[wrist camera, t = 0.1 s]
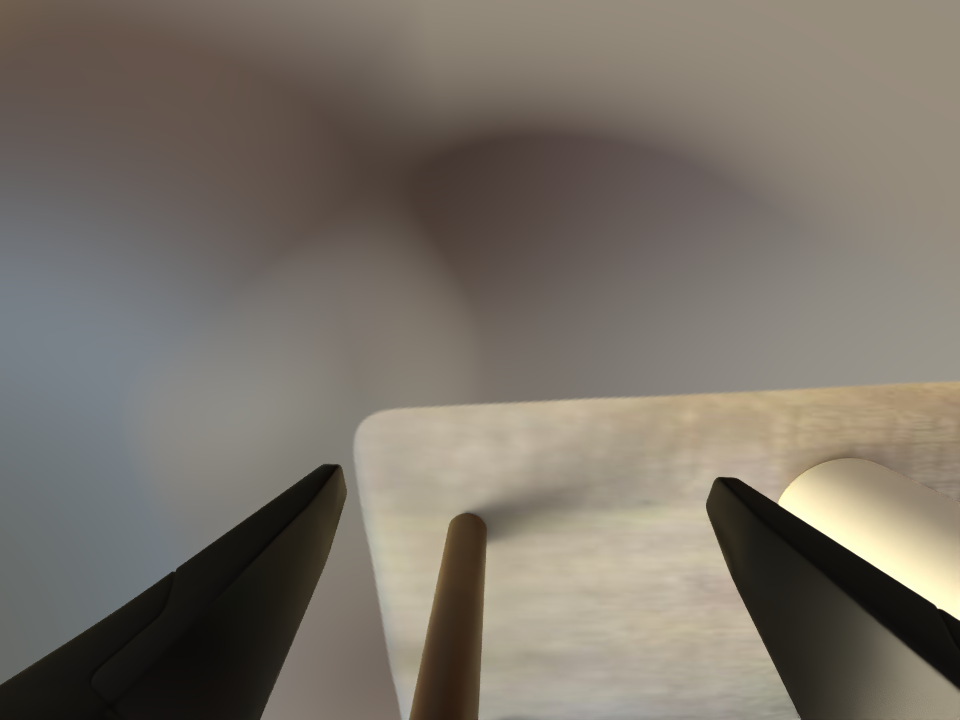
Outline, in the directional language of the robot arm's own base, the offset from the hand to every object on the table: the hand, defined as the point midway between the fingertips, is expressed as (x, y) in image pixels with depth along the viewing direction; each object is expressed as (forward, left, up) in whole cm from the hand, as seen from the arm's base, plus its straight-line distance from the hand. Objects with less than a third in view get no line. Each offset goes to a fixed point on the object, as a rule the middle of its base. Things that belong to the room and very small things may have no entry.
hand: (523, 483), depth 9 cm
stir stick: (-11, -6, -15) cm, 20 cm away
